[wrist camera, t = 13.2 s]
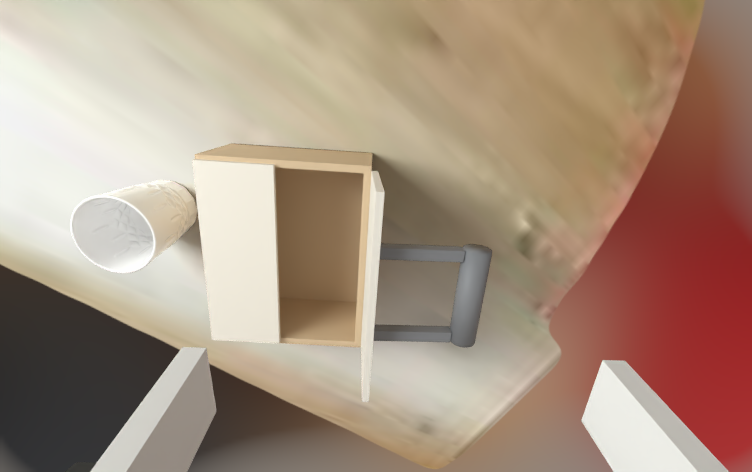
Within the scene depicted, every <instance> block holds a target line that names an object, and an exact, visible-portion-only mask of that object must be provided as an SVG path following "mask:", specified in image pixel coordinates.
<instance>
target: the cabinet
mask: <svg viewBox="0 0 752 472" xmlns="http://www.w3.org/2000/svg"><path fill="white" fill-rule="evenodd" d="M372 154H373V153H366V152H351V151H336V150H321V149H306V148H291V147H276V146H261V145H246V144H228V145H225V146H221V147H218V148H215V149H211V150H208V151H205V152H201V153H198V154H195V159H193V160H192V165H193V174H194V183H195V192H196V201H197V210H198V219H199V228H200V237H201V245H202V254H203V263H204V272H205V281H206V290H207V299H208V308H209V317H210V326H211V335H212V340H225V341H243V342H262V343H289V344H308V345H326V346H345V347H361V333H362V316H363V300H364V284H365V268H366V251H367V235H368V219H369V203H370V186H371V170H372Z"/></svg>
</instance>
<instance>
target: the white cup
mask: <svg viewBox="0 0 752 472" xmlns="http://www.w3.org/2000/svg"><path fill="white" fill-rule="evenodd" d="M197 211H198V210H197V207H196V203H195V200H194V198H193V196H192V195H191V194H190V193H189V192H188V190H187V189H186V188H185V187H183V186H181V185H179V184H178V183H176V182H174V181H168V180H157V181H153V182H150V183H144V184H138V185H134V186H129V187H125V188H122V189H118V190H115V191H111V192H107V193H104V194H100V195H96V196H92V197H89V198H87V199H85V200H83V201H82V202H81V203H79V204H78V205H77V207H76V208H75V209H74V211H73V213H72V216H71V221H70V228H71V234H72V237H73V240H74V242H75V244H76V246H77V247H78V249H79V250H80V251H81V253H82V254H83V255H84V256H85V257H86V258H87V259H88V260H90V261H91V262H92V263H94V264H95V265H97V266H99V267H101V268H103V269H105V270H108V271H111V272H116V273H131V272H136V271H138V270H141V269H142V268H144V267H145V266H147V265H148V264H149V263H150V262H152V261H153V260H154V259H155V258H156V257H158V256H159V255H160V254H161V253H163V252H164V251H165V250H166V249H167V248H169V247H170V246H171V245H172V244H173V243H175V242H176V241H177V240H178V239H179V238H180V237H181V236H182V235H183V234H184V233H185V232H186V231H188V230H189V229H190V227H191V226H192V225H193V224H194V223H195V221H196V216H197Z"/></svg>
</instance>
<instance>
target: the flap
mask: <svg viewBox="0 0 752 472" xmlns="http://www.w3.org/2000/svg"><path fill="white" fill-rule="evenodd" d="M384 194H385V192H384V189H383V185H382V182H381V179H380V176H379V173H378V171H371V186H370V203H369V219H368V235H367V251H366V268H365V284H364V300H363V316H362V333H361V380H362V402H369V391H370V378H371V365H372V352H373V341H417V342H450V341H451V342H452V343H453V344H454V345H456V346H459V347H471V346H473V345H474V343H475V338H476V333H477V328H478V323H479V318H480V313H481V308H482V303H483V297H484V292H485V287H486V282H487V277H488V272H489V267H490V261H491V256H492V250H491V249H489V248H487V247H485V246H482V245H476V244H468V245H464V246H463V248H462V247H456V246H432V245H408V244H384V243H381V233H382V220H383V207H384ZM380 259H387V260H413V261H439V262H460V269H459V275H458V281H457V287H456V293H455V299H454V305H453V312H452V318H451V324H450V328H449V326H410V325H375V312H376V299H377V286H378V273H379V260H380Z"/></svg>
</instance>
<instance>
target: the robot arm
mask: <svg viewBox="0 0 752 472" xmlns="http://www.w3.org/2000/svg"><path fill="white" fill-rule="evenodd" d="M215 413H216V405H215V400H214V393H213V387H212V381H211V374H210V369H209V362H208V355H207V349H206V348H193V347H182V349H181V350H180V352H179V353H178V354H177V355H176V357H175V358H174V359H173V361H172V362H171V363H170V365H169V366H168V367H167V369H166V370H165V371H164V373H163V374H162V376H161V377H160V378H159V380H158V381H157V382H156V384H155V385H154V386H153V388H152V389H151V390H150V392H149V393H148V395H147V396H146V397H145V398H144V400H143V401H142V403H141V404H140V405H139V407H138V408H137V409H136V411H135V412H134V413H133V415H132V416H131V417H130V419H129V420H128V422H127V423H126V424H125V425H124V427H123V428H122V430H121V431H120V432H119V434H118V435H117V436H116V438H115V439H114V440H113V442H112V443H111V444H110V446H109V447H108V448H107V450H106V451H105V452H104V454H103V455H102V456H101V458H100V459H99V460H98V462H97V463H83V462H77V463H76V464H74V465H73V466H72V467H70V468H69V469H68V470H67V471H65V472H187V470H188V468H189V466H190V464H191V462H192V460H193V458H194V456H195V454H196V451H197V450H198V448H199V446H200V444H201V442H202V439H203V438H204V435H205V433H206V431H207V429H208V427H209V425H210V423H211V421H212V419H213V417H214V415H215ZM582 422H583V424H584V426H585V427H586V429H587V430H588V432H589V434H590V435H591V437H592V438H593V440H594V441H595V443H596V444H597V446H598V448H599V449H600V451H601V453H602V454H603V456H604V457H605V459H606V460H607V462H608V464H609V465H610V467H611V468H612V470H613V471H614V472H728V470H727V469H726V468H725V467H724V466H723V465H722V464H721V463H720V462H719V461H718V460H717V459H716V458H715V457H714V455H713V454H712V453H711V452H710V451H709V450H708V449H707V448H706V447H705V446H704V445H703V444H702V443H701V442H700V440H699V439H698V438H697V437H696V436H695V435H694V434H693V433H692V432H691V431H690V430H689V429H688V428H687V427H686V425H685V424H684V423H682V421H681V420H680V419H679V418H678V417H677V416H676V415H675V414H674V413H673V412H672V410H670V409H669V407H668V406H667V405H666V404H665V403H664V402H663V401H662V400H661V399H660V398H659V397H658V396H657V394H656V393H655V392H654V391H653V390H652V389H651V388H650V387H649V386H648V385H647V384H646V383H645V382H644V381H643V379H641V377H640V376H639V375H638V374H637V373H636V372H635V371H634V370H633V369H632V368H631V367H630V366H629V365H628V363H627V362H625V361H615V360H612V361H611V360H603V361H602V363H601V366H600V369H599V372H598V375H597V378H596V380H595V383H594V386H593V389H592V392H591V395H590V398H589V400H588V404H587V406H586V409H585V412H584V415H583V418H582Z"/></svg>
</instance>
